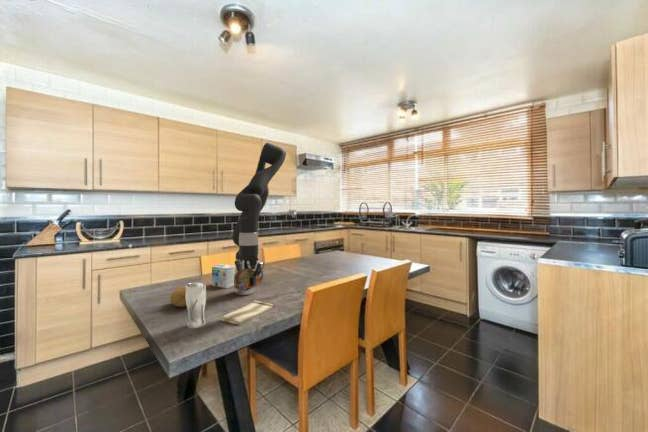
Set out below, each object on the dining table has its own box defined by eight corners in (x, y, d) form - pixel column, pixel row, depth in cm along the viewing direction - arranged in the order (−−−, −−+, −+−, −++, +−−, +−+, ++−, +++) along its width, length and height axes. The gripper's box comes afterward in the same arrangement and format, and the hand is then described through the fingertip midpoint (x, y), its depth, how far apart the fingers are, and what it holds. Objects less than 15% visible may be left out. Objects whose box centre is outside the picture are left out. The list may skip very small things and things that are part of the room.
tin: (238, 294, 104) (238, 272, 104) (232, 292, 105) (232, 271, 105) (263, 284, 118) (263, 264, 117) (257, 282, 119) (257, 263, 119)
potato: (193, 298, 128) (193, 281, 128) (197, 308, 116) (196, 289, 116) (169, 302, 123) (169, 284, 123) (170, 313, 111) (170, 293, 111)
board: (219, 320, 105) (219, 316, 105) (254, 303, 123) (254, 300, 123) (239, 325, 101) (239, 321, 101) (272, 307, 119) (272, 304, 119)
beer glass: (190, 321, 104) (189, 281, 103) (209, 320, 104) (209, 281, 104) (182, 329, 97) (181, 287, 96) (202, 328, 97) (202, 287, 97)
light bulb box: (211, 285, 149) (211, 266, 148) (220, 282, 155) (220, 263, 155) (226, 288, 145) (226, 268, 144) (235, 285, 151) (235, 265, 150)
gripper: (228, 243, 110) (229, 286, 111) (256, 245, 105) (257, 290, 105) (241, 241, 117) (242, 281, 118) (268, 243, 111) (268, 285, 112)
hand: (249, 285), depth 112 cm, fingers closed on tin, 2 cm apart
